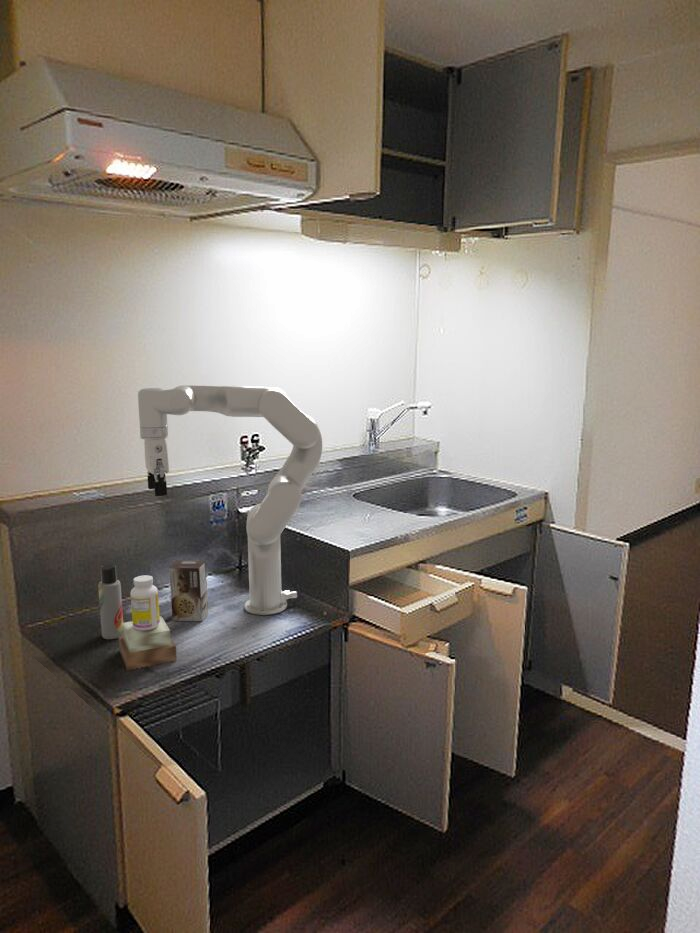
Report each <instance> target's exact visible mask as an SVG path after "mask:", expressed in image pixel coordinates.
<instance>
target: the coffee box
mask: <svg viewBox="0 0 700 933" xmlns="http://www.w3.org/2000/svg"><path fill="white" fill-rule="evenodd" d="M206 568H207V567H206V561H205V560H175V561H174V562H173V563H172V564H171V566H169V568H168V573H169V585H170V601H171V615H172V616H171V617H172V618H171V619H172V621H174V622H176V621H177V622H178V621H179V622H180V621H181V622H203V621H204V620H205V619H206V617H207V616H209V607H208V606H209V603H208V587H207V586H208V584H207V569H206Z"/></svg>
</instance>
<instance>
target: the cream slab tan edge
mask: <svg viewBox="0 0 700 933" xmlns="http://www.w3.org/2000/svg"><path fill="white" fill-rule="evenodd" d="M159 616H160V624H159V626H158V627H156V628H154V629H152V630H147V631H140V630H136V629H135V628H134V627H133V620H131V621H127V622H126V621H125V622H123V623H122V628H123V635H122V636H121V637H119V638H118V647H119V648H118V651H119V653H120V655H121V658H122V660H123V664H124V667H125V668H126V671H127V670H129V671H133V670H137V669H136V668H138V669H142V668H141V667H143V668H146V667H145V666H148V667H151V666H150V665H153V666H156V665H155V664H158V665H161V664H160V663H163V664H165V663H164V662H168V663H171V662H170V661H173V662H176V661H175V660H177V647H176V646H177V645H176V643H175V642H174V640H173V639H172V637H171V630H170V628H169V626H168V624H167V623H166V621H165V619H164V618H163V616H161V615H159ZM132 669H133V670H132Z"/></svg>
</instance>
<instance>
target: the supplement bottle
mask: <svg viewBox="0 0 700 933" xmlns="http://www.w3.org/2000/svg"><path fill="white" fill-rule="evenodd" d="M153 583H154V578H153V576H152V575H147V574H146V575H145V574H144V575H138V576H136V577H133V585H134V587H133V588H131V590H130V605H131V618H132V619H131V621H133V627H134V628H135V629H136V630H140V631H147V630H152V629H154V628H156V627H158V626H159V624H160V616H161V615H160V605H159V592H158V590H159V589H158V588H157V586H155V585H154V584H153Z"/></svg>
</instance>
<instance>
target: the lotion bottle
mask: <svg viewBox="0 0 700 933" xmlns="http://www.w3.org/2000/svg"><path fill="white" fill-rule="evenodd" d="M100 578H101V581H100V582H98V584H97V586H98V599H99V600H98V602H99V611H100V612H99V614H100V628H101V636H102V638H103V639H105V640H115V639H116V640H117V639H119V637H121V636H123V628H122V623H124V617H123V615H124V614H123V601H122V586H121V581H120V580H119V579H118V577H117V567H116V565H115V564H114V563H106V564H103V565H101V566H100Z"/></svg>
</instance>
